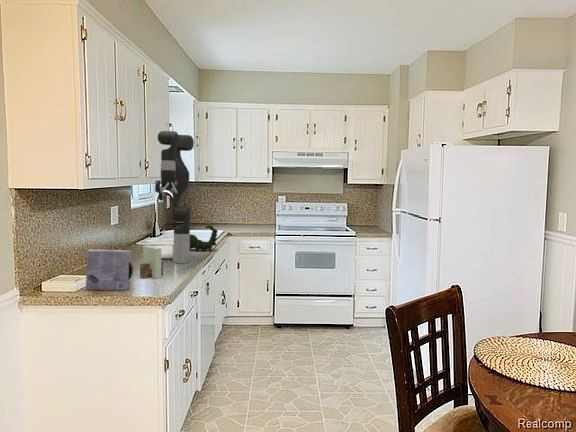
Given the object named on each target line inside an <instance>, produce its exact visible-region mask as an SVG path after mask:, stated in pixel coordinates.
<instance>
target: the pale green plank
mask: <svg viewBox="0 0 576 432" xmlns="http://www.w3.org/2000/svg"><path fill="white" fill-rule="evenodd" d="M161 261H162V258H161V248H158V247H153V246H152V245H143V246H142V264H144V263H148V264H149V269H151V270H152V277H151V278H153V279H156V280H157V279H161V278H162V275H161Z"/></svg>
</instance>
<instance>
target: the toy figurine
mask: <svg viewBox="0 0 576 432" xmlns="http://www.w3.org/2000/svg"><path fill="white" fill-rule="evenodd" d="M205 229H209V230H211V231H212V232H211V233H210V235H211V236H210V237H209V240H208V241H203V240H201V239H198V237H197V235H195V234H190V251H191V250H192V249H195V251H196V250H198V251H199V250H201V251H202V250H203V251H202V252H206V251H207V250H209V251H211V250H212V248H213V246H216V245H217V243H216V241H217V240H218V238H217V236H218V230H217V228H214V226H213V225H207V226H205Z"/></svg>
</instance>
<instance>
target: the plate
mask: <svg viewBox="0 0 576 432" xmlns="http://www.w3.org/2000/svg"><path fill="white" fill-rule="evenodd" d="M153 247H158V248H161V259H173V245H165V244H164V245H154V246H153Z"/></svg>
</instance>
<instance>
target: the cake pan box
mask: <svg viewBox="0 0 576 432" xmlns="http://www.w3.org/2000/svg"><path fill="white" fill-rule="evenodd" d="M86 251H87V252H86V253H87V254H86V257H87V258H86V274H85V275H86V278H85V279H86V280H85V289H86V291H129V290H130V289H131V278H132V276H133V272H134V266H133V262H132V250H123V249H122V250H116V249H88V250H86Z"/></svg>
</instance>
